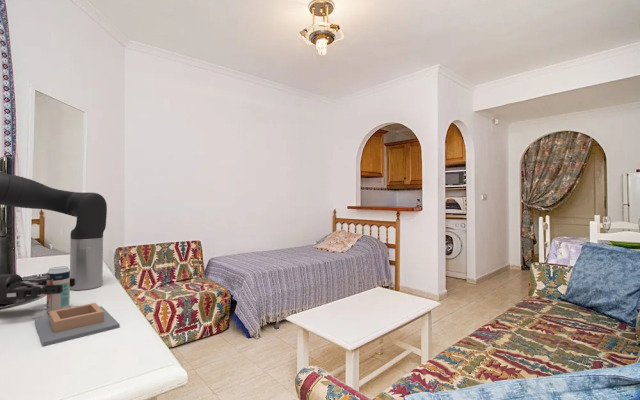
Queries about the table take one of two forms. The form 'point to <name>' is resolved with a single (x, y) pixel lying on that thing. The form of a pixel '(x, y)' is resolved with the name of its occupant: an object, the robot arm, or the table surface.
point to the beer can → (58, 278)
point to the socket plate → (74, 323)
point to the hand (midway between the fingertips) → (68, 285)
